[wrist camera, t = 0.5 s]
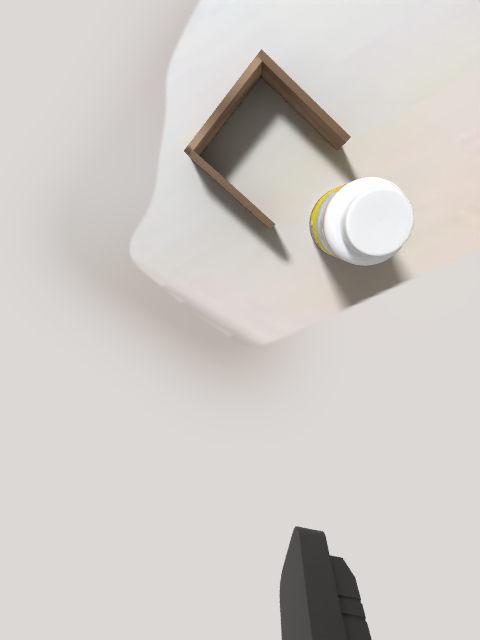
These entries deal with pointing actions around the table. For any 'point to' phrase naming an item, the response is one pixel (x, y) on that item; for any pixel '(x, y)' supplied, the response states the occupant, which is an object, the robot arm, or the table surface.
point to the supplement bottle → (362, 221)
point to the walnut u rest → (252, 74)
